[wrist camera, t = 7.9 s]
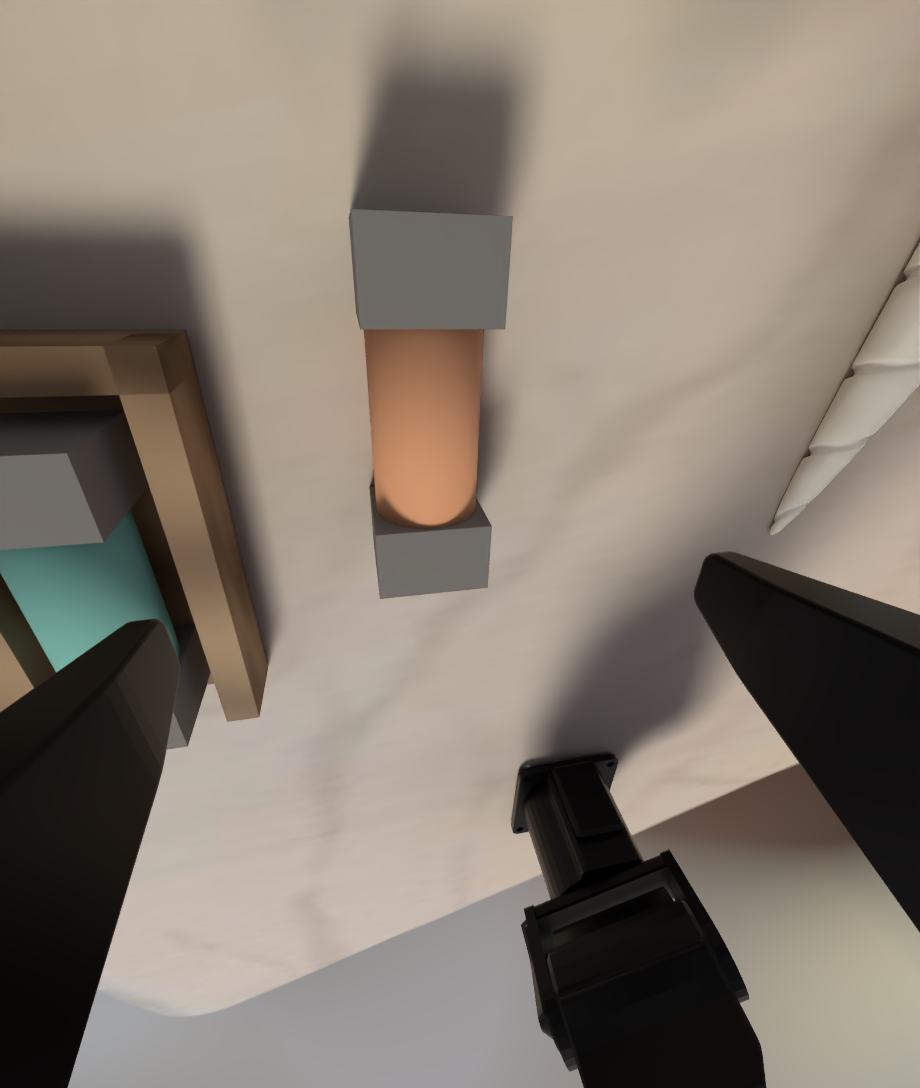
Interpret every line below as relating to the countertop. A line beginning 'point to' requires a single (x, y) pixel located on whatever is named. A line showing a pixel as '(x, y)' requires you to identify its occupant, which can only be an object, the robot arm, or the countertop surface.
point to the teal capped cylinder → (84, 542)
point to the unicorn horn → (863, 395)
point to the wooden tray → (145, 495)
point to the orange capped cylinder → (428, 387)
